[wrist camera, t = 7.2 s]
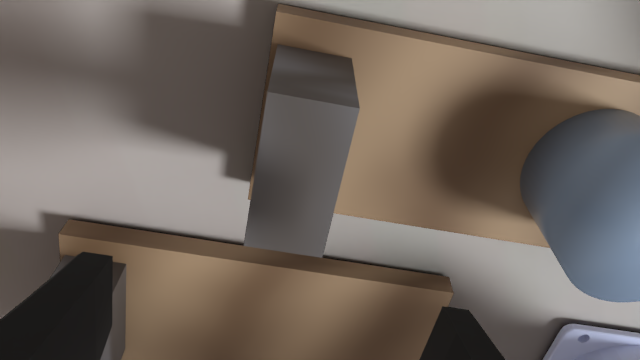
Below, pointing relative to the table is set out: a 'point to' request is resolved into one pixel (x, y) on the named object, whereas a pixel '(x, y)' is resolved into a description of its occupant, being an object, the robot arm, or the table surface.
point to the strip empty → (253, 301)
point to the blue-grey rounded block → (590, 200)
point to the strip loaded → (405, 129)
